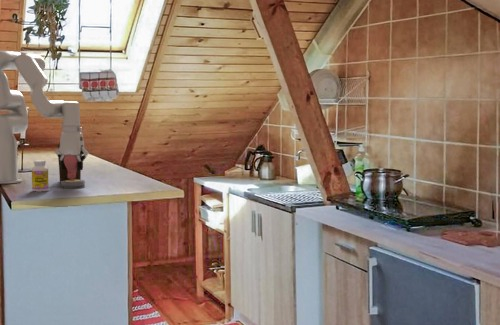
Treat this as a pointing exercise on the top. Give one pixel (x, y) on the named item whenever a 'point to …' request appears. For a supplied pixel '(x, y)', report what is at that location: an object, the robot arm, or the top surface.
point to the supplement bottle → (39, 176)
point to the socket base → (73, 183)
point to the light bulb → (71, 165)
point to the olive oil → (64, 172)
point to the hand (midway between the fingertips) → (72, 169)
